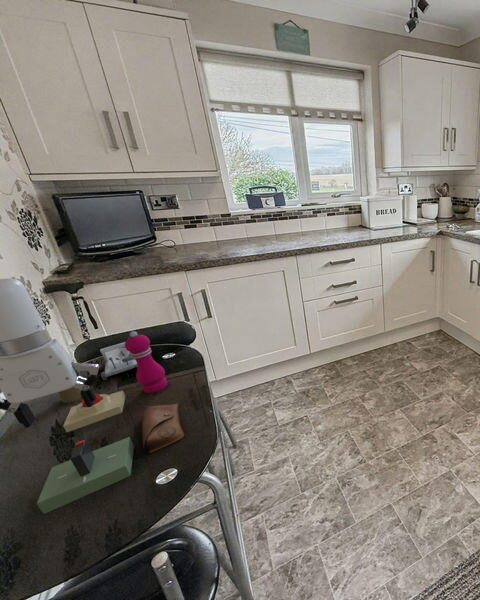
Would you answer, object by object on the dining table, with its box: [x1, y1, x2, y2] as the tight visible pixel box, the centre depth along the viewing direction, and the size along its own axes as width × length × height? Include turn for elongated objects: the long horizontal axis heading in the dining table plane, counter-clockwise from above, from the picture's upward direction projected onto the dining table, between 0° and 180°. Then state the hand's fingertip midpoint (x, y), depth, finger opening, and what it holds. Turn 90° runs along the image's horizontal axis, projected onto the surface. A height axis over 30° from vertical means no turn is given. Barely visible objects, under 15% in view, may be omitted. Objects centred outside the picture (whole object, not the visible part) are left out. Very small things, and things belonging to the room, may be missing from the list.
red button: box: [80, 393, 102, 407], centre depth 93 cm, size 4×4×2 cm
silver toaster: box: [99, 341, 138, 381], centre depth 117 cm, size 18×10×12 cm
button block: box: [62, 390, 126, 433], centre depth 94 cm, size 12×10×4 cm
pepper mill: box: [125, 330, 168, 394], centre depth 102 cm, size 7×7×20 cm
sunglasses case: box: [141, 403, 185, 453], centre depth 86 cm, size 18×7×7 cm
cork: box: [58, 387, 82, 404], centre depth 102 cm, size 6×6×11 cm
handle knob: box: [69, 439, 95, 476], centre depth 71 cm, size 6×2×5 cm, turn 34°
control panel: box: [36, 436, 135, 515], centre depth 72 cm, size 14×11×3 cm
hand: (62, 413), depth 69 cm, fingers open, 9 cm apart
